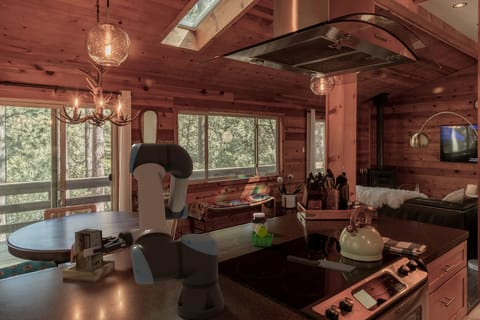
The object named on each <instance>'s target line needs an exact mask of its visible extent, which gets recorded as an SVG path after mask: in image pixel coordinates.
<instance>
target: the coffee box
mask: <svg viewBox="0 0 480 320" xmlns="http://www.w3.org/2000/svg"><path fill="white" fill-rule="evenodd" d="M102 237H103V230H102V229H93V228H84V229H81V230H78V231H75V232H74V244H75V251H74V252H75V264H76V271H87V272H94V271H95V270H97V269H99V268H101V267H103V260H104V253H102V252H101V253H98V254H94V255H90V256H86V257H84V249H88V248H93V247H97V246H101V245H103V242H102ZM101 248H102V247H101Z"/></svg>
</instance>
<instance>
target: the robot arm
mask: <svg viewBox="0 0 480 320" xmlns="http://www.w3.org/2000/svg"><path fill="white" fill-rule="evenodd" d="M128 165H129V166H128V172H129V174H130V175H133V178H134V179H135V180H136V181H137V193H138V195H137V196H138V216H139V217H138V218H139V220H138V221H139V224H138V225H139V227H138V228H133V229H129V230H124V231H120V232H119V233H118V236H112V235H109V236H104V237H103V236H102V242H103V245H101V246H97V247H93V248H88V249H84V257H86V256H90V255H94V254H98V253H101V252H102V253H103V254H110V253H112V252H115V251H119V250H120V249H123V250H125V249H129V248H130V257H131V265H132V271H133V276H134V280H135V282H136V283H137V284H138V285H153V284H156V283H157V284H158V283H164V282H172V281H174V282H175V281H180V280H181V287H180V290H179V294H178V296H177V300H176V312H177V314H178V316H180V317H182V318H184V319H188V320H206V319H211V318H213V317H216V316H218V315H219V314H221V313H222V312H223V311H224V308H225V300H224V296H223V293H222V291H221V287H220V285H219V250H218V241H217V240H216V239H215V238H214V237H212V236H209V235H207V234H206V235H205V234H199V233H187V234H183V235H181V236H180V238H179V241H173V237H172V234H170V233H169V232H168V230H167V229H168V228H167V221H172V220H173V221H174V220H179V221H180V220H186V219H188V215H189V207H188V204H187V203H186V199H187V194H188V193H187V192H188V186H189V180H190V177H192V175H193V172H194V161H193V159H192V155H191V154H190V153H189V151H188V150H187V149H186V148H184V147H183V146H181V145H180V144H179V143H175V142H168V143H166V142H157V143H156V142H155V143H154V142H149V143H147V142H142V143H134V144H132V146H131V148H130V154H129V163H128ZM166 174H170V183H169V194H168V203H167V204H165V199H164V188H163V185H164V184H163V178H165V176H166ZM101 247H102V248H101ZM72 251H73V252H76V251H75V243H72Z"/></svg>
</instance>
